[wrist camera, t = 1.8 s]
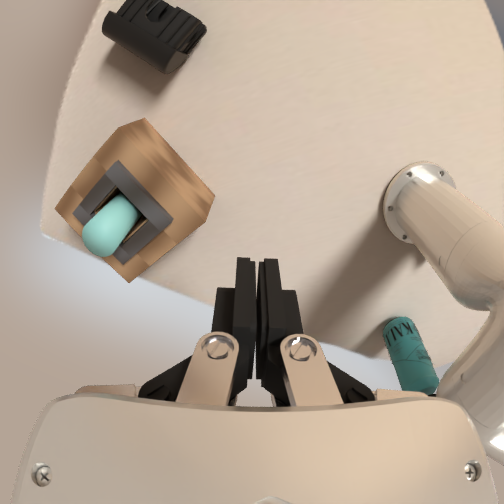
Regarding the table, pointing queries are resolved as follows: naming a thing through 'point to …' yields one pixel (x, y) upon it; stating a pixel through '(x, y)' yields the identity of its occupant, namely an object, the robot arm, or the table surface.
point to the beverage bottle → (410, 357)
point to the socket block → (139, 195)
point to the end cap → (154, 32)
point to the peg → (110, 226)
